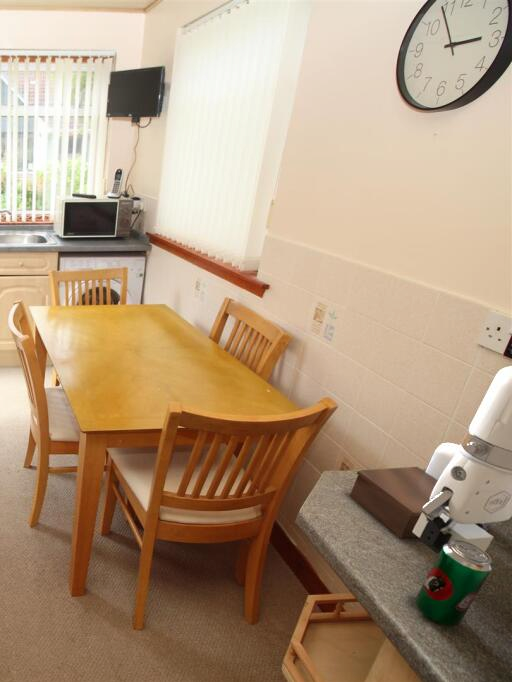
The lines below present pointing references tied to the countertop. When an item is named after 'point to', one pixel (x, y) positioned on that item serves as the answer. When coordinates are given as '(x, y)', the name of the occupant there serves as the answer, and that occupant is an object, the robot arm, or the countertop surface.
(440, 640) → the countertop surface
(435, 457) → the photo printer
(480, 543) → the white box
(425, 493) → the storage box
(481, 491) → the robot arm
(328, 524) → the countertop surface
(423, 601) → the soda can
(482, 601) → the countertop surface
